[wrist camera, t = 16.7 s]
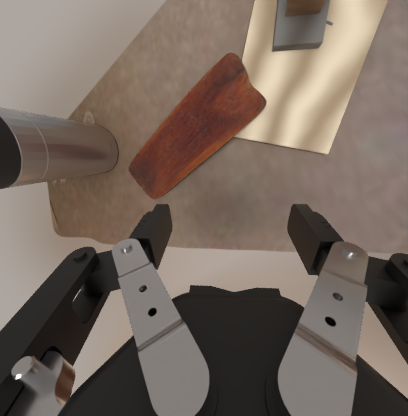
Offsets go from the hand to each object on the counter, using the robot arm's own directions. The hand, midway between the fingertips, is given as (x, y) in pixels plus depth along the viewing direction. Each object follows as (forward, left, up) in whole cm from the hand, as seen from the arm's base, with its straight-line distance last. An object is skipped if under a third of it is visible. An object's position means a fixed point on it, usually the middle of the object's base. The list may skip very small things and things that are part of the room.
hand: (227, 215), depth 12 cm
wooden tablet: (-10, +4, -22) cm, 24 cm away
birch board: (+5, +18, -23) cm, 29 cm away
